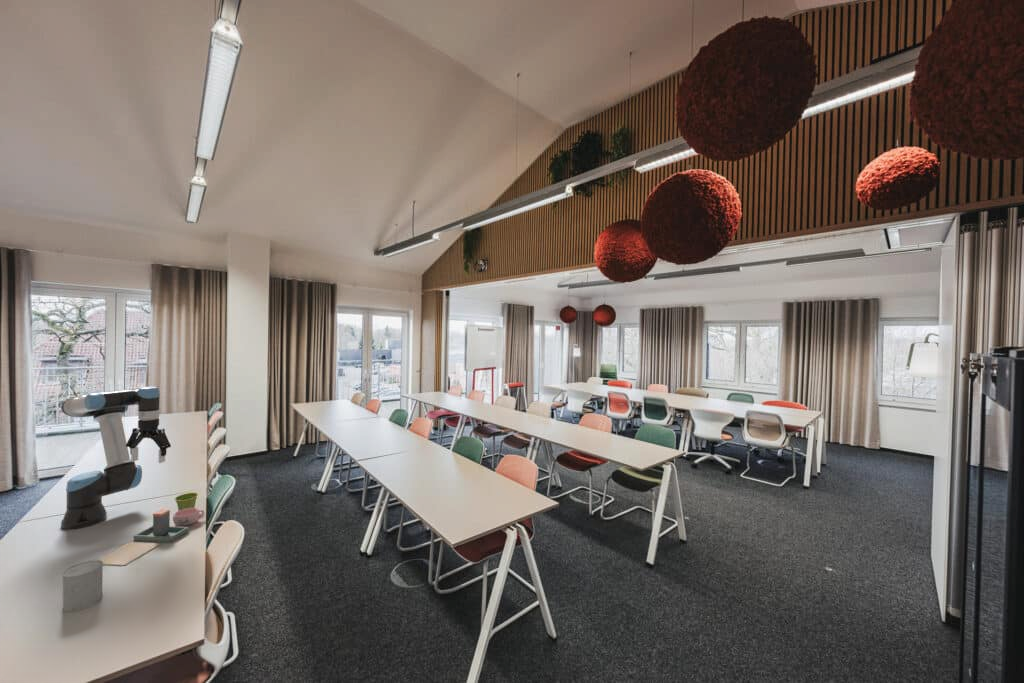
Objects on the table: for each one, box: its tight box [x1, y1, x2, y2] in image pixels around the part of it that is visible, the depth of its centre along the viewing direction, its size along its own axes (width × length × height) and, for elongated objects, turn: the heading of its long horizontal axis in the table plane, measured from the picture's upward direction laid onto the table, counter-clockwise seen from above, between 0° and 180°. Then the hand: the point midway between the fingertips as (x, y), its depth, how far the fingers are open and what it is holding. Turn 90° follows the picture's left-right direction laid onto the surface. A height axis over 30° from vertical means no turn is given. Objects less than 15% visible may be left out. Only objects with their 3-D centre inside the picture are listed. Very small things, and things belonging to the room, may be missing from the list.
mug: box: [172, 507, 205, 527], centre depth 192 cm, size 12×10×6 cm
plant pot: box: [174, 492, 199, 512], centre depth 202 cm, size 9×9×9 cm
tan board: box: [97, 541, 162, 567], centre depth 165 cm, size 14×16×1 cm
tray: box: [133, 525, 189, 544], centre depth 179 cm, size 17×9×2 cm, turn 89°
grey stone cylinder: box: [62, 559, 104, 613], centre depth 136 cm, size 10×10×12 cm
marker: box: [152, 509, 171, 536], centre depth 179 cm, size 4×4×11 cm
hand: (148, 461), depth 189 cm, fingers open, 13 cm apart
